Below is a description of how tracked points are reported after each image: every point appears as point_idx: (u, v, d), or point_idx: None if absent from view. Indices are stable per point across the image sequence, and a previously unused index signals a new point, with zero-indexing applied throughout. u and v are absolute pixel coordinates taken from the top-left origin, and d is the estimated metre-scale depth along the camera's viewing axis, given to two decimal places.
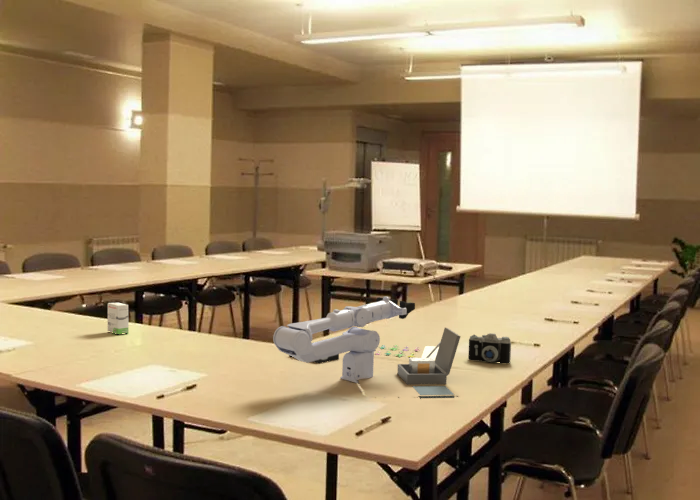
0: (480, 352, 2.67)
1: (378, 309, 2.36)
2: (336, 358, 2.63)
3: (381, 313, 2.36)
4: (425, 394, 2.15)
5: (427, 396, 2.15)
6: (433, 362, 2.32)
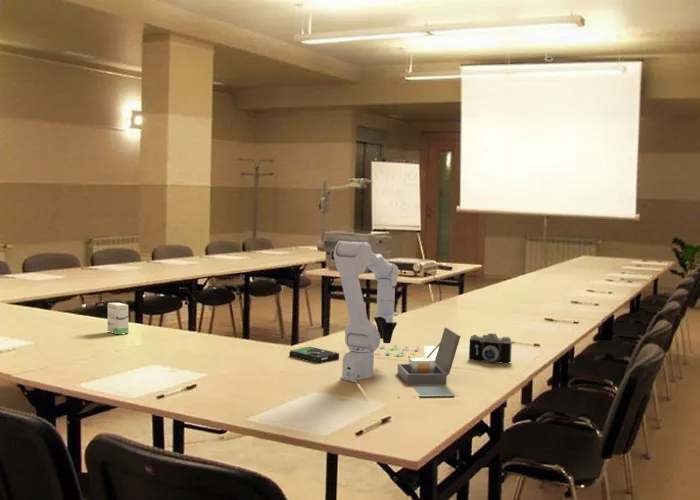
0: (481, 352, 2.67)
1: (394, 295, 2.48)
2: (336, 358, 2.63)
3: (393, 299, 2.47)
4: (425, 394, 2.15)
5: (427, 396, 2.15)
6: (433, 362, 2.32)
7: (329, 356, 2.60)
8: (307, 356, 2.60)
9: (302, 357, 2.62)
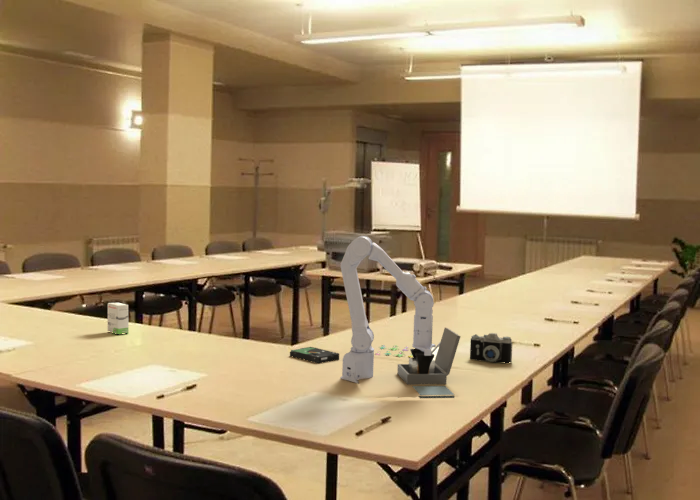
0: (481, 352, 2.68)
1: (427, 327, 2.31)
2: (336, 358, 2.62)
3: (422, 330, 2.31)
4: (425, 394, 2.15)
5: (427, 396, 2.15)
6: (433, 362, 2.32)
7: (329, 356, 2.60)
8: (307, 356, 2.60)
9: (302, 357, 2.62)
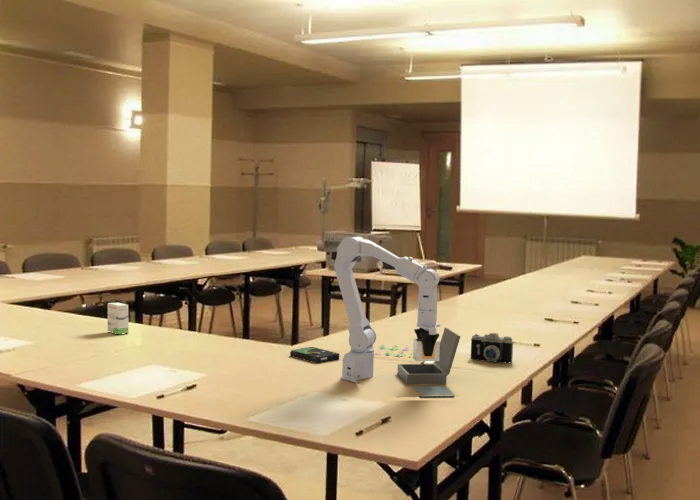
0: (482, 351, 2.68)
1: (429, 306, 2.26)
2: (336, 358, 2.62)
3: (424, 309, 2.26)
4: (425, 394, 2.15)
5: (427, 396, 2.15)
6: (438, 342, 2.28)
7: (329, 356, 2.60)
8: (307, 356, 2.60)
9: (302, 357, 2.62)
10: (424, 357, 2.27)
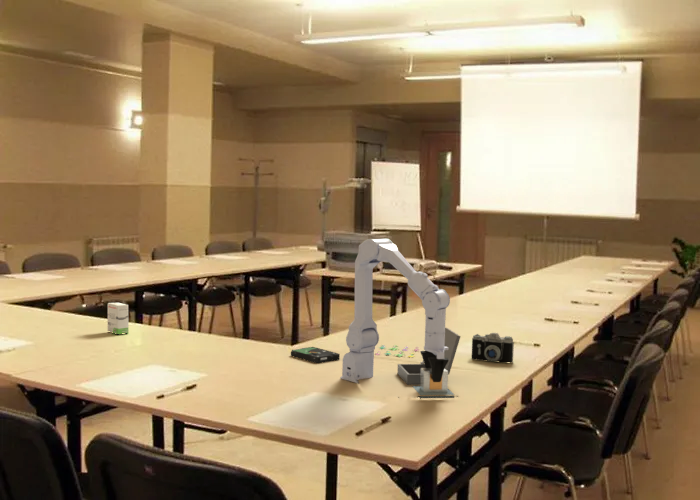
0: (483, 351, 2.68)
1: (434, 328, 2.17)
2: (336, 358, 2.62)
3: (429, 331, 2.17)
4: (425, 394, 2.15)
5: (427, 396, 2.15)
6: (446, 373, 2.19)
7: (329, 356, 2.60)
8: (307, 356, 2.60)
9: (302, 357, 2.62)
10: (432, 388, 2.18)
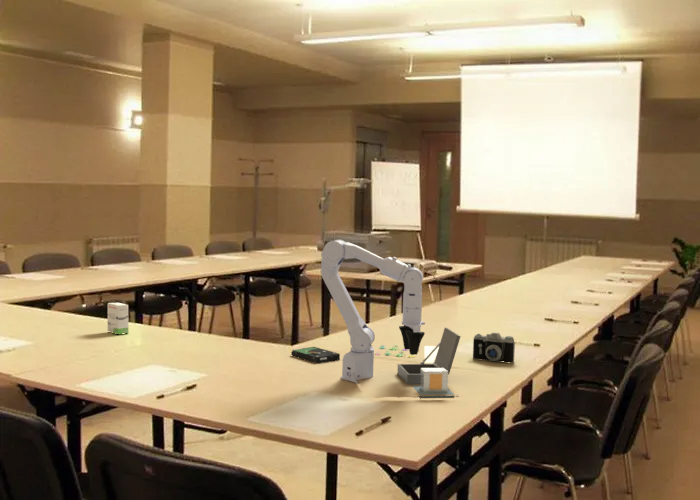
0: (484, 351, 2.69)
1: (415, 304, 2.29)
2: (336, 358, 2.62)
3: (410, 307, 2.29)
4: (425, 394, 2.15)
5: (427, 396, 2.15)
6: (446, 373, 2.19)
7: (329, 356, 2.60)
8: (307, 356, 2.60)
9: (302, 357, 2.62)
10: (432, 388, 2.18)
